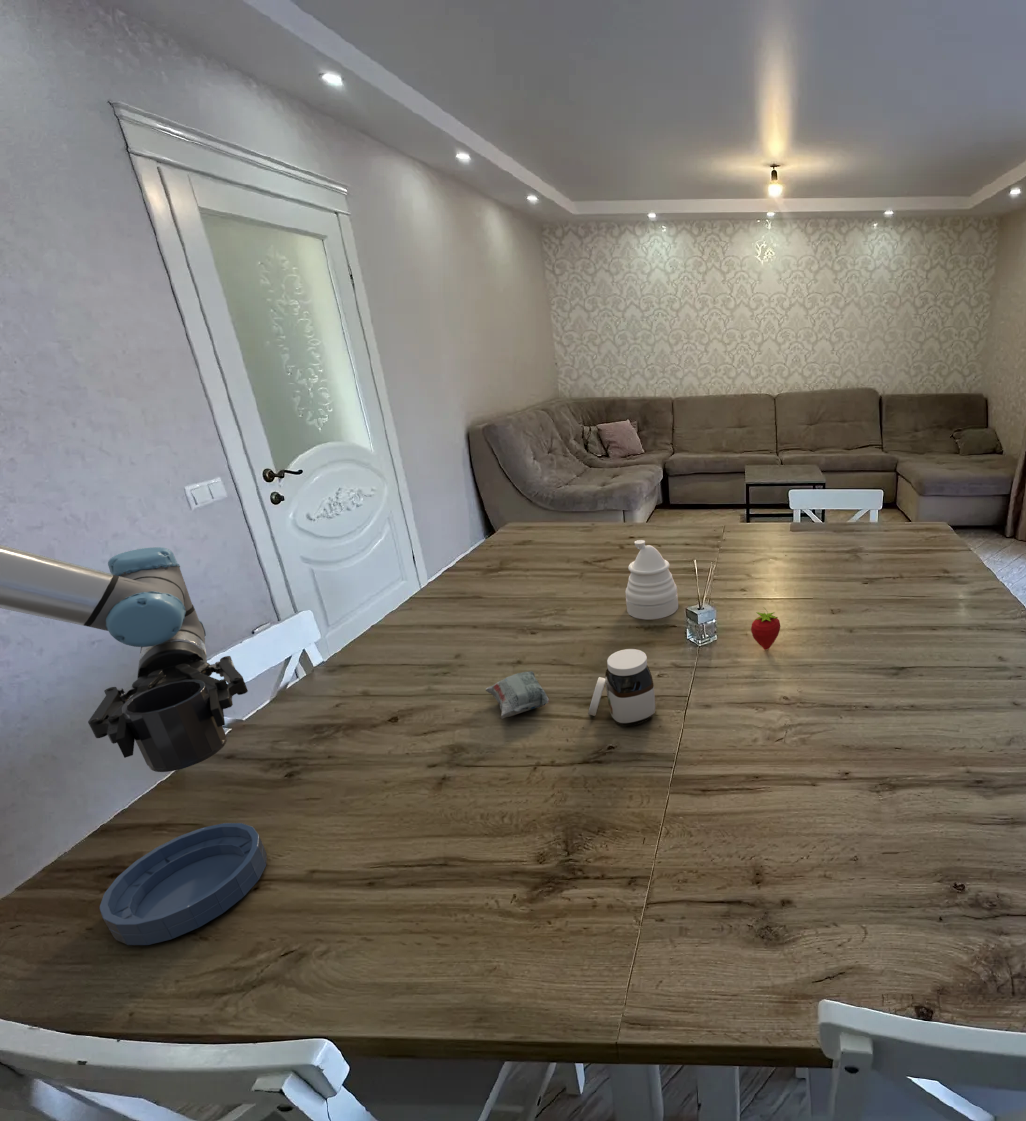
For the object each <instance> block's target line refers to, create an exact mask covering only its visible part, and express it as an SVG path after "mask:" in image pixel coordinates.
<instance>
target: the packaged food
mask: <svg viewBox="0 0 1026 1121" xmlns="http://www.w3.org/2000/svg"><path fill="white" fill-rule="evenodd" d="M485 691H486V692H487V693H488V694H490V695H491V696H493V697H494V699H495V700H496V702H497V704H498V705H499V709H500V711H501V715H500V719H502V720H503V719H505V718H509V717H510V718H511V717H513V716H516V715H520V714H522V713H525V712H528V711H530V710H534V709H536V708H537V709H538V708H541V707H543V706H546V705H547V704H548V703H550V699H549V697H548V694H547V693H546V691H545V690H544V688H543V687H542V685H541V684H540V683H539V681H538V679H537V678H536V676H535V672H534V671H532V670H531V671H530V670H529V671H523V672H517V673H514V674H512V675H509V676H506V677H505V678H503V679H501V680H499V681H497V682H495V683H494V684H493V685H490V686H488V687H486V688H485Z"/></svg>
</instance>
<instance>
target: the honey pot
mask: <svg viewBox="0 0 1026 1121" xmlns="http://www.w3.org/2000/svg"><path fill="white" fill-rule="evenodd" d="M633 543H634V547H635V548H636V549H637V550H639V551H638V553H637V555H636V557H635V559H634V560H633V561H631V562H630V563H628V564H629V565H628V571H629V572H630V574H629V576H628V579H627V580H628V581H627V585H626V588H625V592H624V593H625V603H626V605H625V606H626V612H627V614H628V615H629V616H631V617H632V618H635V619H637V620H658V619H662V618H663V619H664V618H667V617H669V616H671V615H674V614H675V613H676V612H677V611H678V609H679V594H678V586H677V584H676V583H675V580H674V578H673V574H672V572H670V571H671V570H670V569H669V568H670V565H671V564H670V562H669V561H668V560H666V559H664V557H663V556H662V554H661V552H660V551H659V550H658V549H657V548H656V547H654V546H653V545H650V544H647V545H646V540H644V539H638V540H634V542H633Z"/></svg>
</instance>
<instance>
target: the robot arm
mask: <svg viewBox="0 0 1026 1121" xmlns="http://www.w3.org/2000/svg"><path fill="white" fill-rule="evenodd" d="M107 567H108V569H109V572H106V571H101V570H98V569H95V568H90V567H88V566H84V565H79V564H75V563H71V562H68V561H65V560H60V559H56V558H53V557H49V556H45V555H41V554H38V553H34V552H31V551H25V550H23V549H18V548H16V547H15V548H14V547H11V546H7V545H3V544H0V609H3V610H8V611H11V612H16V613H22V614H27V615H31V616H36V617H40V618H45V619H50V620H55V621H60V622H63V623H69V624H74V625H80V626H84V627H89V628H92V629H97V630H102V631H107V632H108V633H109V634H110V636H111V637H113V639H114V640H116V641H118V642H119V643H121V644H124V645H125V646H129V647H136V648H140V652H139V659H138V666H137V676H136V677H137V678H136V680H135V681H134V682H132V684H131V685H130V686H129V687H128V686H127V687H125V688H123V687H119V688H117V687H116V686H111V687H108V688H106V689H104V690H103V692H104V694H105V696H104V697H103V699H102V701H101V702H100V703H99V705H98V707H97V708H95V709H96V710H95V711H94V712H93V713H92V715H91V717H90V718H89V720H88V721H87V723H88V726H89V727H90V730H91V731H92V733H93V735H94V737H95V739H101V738H105V737H106V736H107V737H108V739H109V741H110V743H111V744H113V745H115V744H117V745H118V748H119V750H120V752H121V755H122V756H123V758H124V759H125V758H129V757H132V756H134V750H135V743H136V741H135V739H134V736H133V734H132V732H131V730H130V728H129V726H128V724H127V722H126V720H125V718H124V715H123V713H122V706H123V705H124V704H125V703H126V702H127V701H128V700H130V699H131V698H133V697H135V696H137V695H138V694H140V693H142V692H144V691H147V690H149V689H151V688H154V687H157V686H160V685H164V684H167V683H170V682H175V681H181V680H200V681H203V682H205V685H206V687H207V690H208V692H209V696H210V708H211V712H212V715H213V717H214V719H215V722H216V724H217V727H220V726H223V727H224V726H226V722H225V713H224V710H227V709H229V708H232V706H233V705H234V704H233V697H234V696H235V695H238V696H241V695H245V694H247V693H248V692H249V690H248V688H247V685H246V682H245V680H244V676H242V674H241V673H240V672H239V671H238V670H237V669H236V667H235V665H234V662H233V660H232V657H231V655H226V656H222V657H221V658H220V659H219V661H216V662H215V663H211V664H210V663H209V662H208V659H207V658H208V657H207V650H206V648H207V647H206V638H205V637H206V635H207V634H206V629H205V626H204V623H203V621H202V620H201V619H200V618H199V616H198V614H197V611H196V609H195V606H194V604H193V602H192V600H191V597H190V593H189V591H188V588H187V584H186V582H185V579H184V576H183V573H182V571H181V565H180V564H179V563H178V561H177V559H176V556H175V554H174V552H173V551H172V550H171V549H169V548H166V547H161V546H160V547H159V546H157V547H154V546H153V547H144V548H137V549H133V550H132V549H131V550H128V551H124V552H121V553H118V554H115V555H114V556H112V557H111V558H110V559H109V560H108V561H107ZM213 673H215V674H216V675H219V677H220V678H222V679H217V678H215V677H212V675H213Z"/></svg>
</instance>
